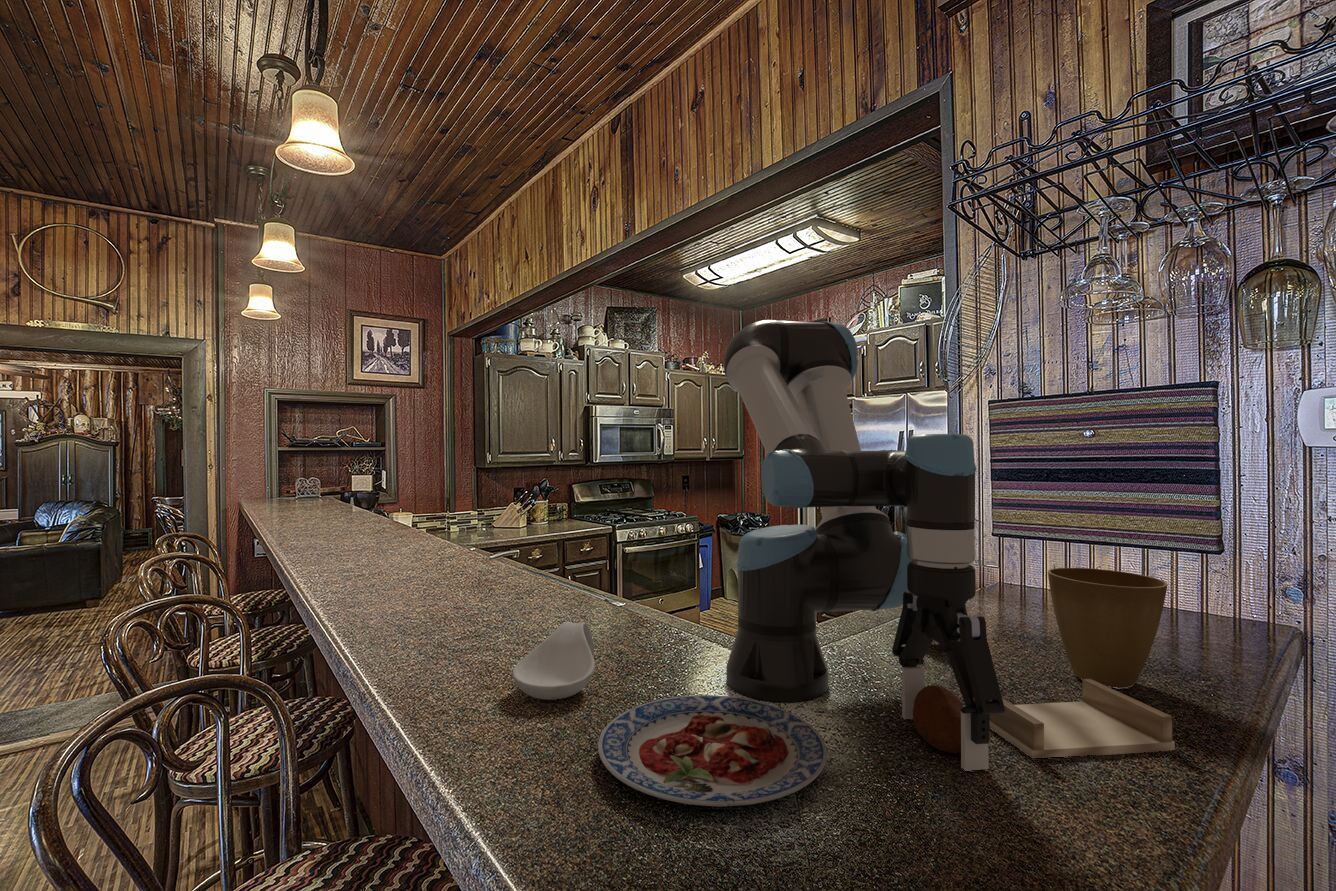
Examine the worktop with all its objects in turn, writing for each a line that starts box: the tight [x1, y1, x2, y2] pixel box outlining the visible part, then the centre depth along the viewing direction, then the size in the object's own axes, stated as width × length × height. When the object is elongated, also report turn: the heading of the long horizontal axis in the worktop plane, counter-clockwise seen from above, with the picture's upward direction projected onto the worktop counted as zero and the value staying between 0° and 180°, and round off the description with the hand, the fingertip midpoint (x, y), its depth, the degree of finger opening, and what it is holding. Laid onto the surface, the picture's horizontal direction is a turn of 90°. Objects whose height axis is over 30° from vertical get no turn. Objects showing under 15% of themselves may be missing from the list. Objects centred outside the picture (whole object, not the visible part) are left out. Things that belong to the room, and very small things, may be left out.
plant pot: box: [1047, 567, 1168, 687], centre depth 94 cm, size 15×15×16 cm
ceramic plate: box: [597, 694, 828, 808], centre depth 71 cm, size 26×26×3 cm
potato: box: [912, 684, 964, 754], centre depth 74 cm, size 6×12×6 cm, turn 1°
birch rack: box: [974, 679, 1176, 758], centre depth 77 cm, size 18×12×4 cm, turn 97°
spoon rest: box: [511, 621, 596, 701], centre depth 96 cm, size 24×12×7 cm, turn 176°
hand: (941, 741), depth 74 cm, fingers open, 12 cm apart
